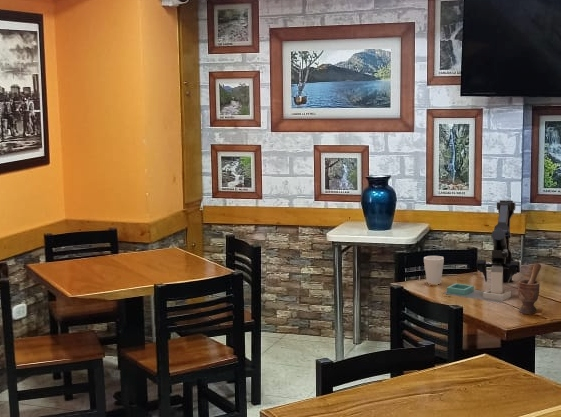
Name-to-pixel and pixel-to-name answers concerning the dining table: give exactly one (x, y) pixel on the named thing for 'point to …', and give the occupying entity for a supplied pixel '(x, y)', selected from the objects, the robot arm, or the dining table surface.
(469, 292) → the socket board
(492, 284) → the plug block
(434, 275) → the foam cup
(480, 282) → the dining table surface
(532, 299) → the mortar and pestle
